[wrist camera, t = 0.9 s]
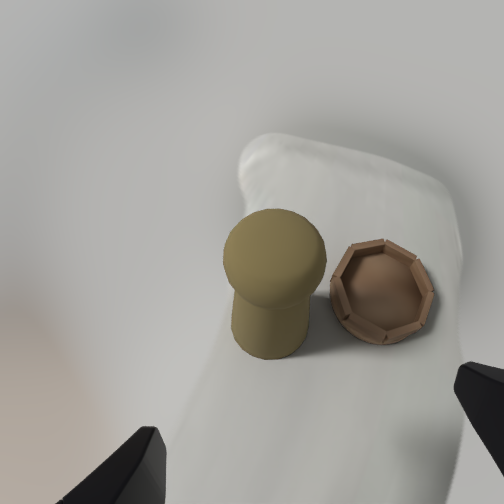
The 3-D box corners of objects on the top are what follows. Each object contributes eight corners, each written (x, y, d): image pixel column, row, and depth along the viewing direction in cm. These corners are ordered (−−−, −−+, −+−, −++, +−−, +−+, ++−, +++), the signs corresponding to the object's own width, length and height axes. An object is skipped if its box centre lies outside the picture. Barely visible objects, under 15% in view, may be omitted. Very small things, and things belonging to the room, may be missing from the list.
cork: (283, 276, 25) (295, 177, 16) (323, 335, 22) (366, 259, 13) (218, 307, 24) (191, 217, 14) (253, 373, 21) (247, 322, 11)
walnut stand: (435, 327, 22) (447, 318, 20) (347, 357, 21) (355, 350, 19) (399, 245, 26) (407, 233, 25) (317, 261, 26) (320, 248, 24)
